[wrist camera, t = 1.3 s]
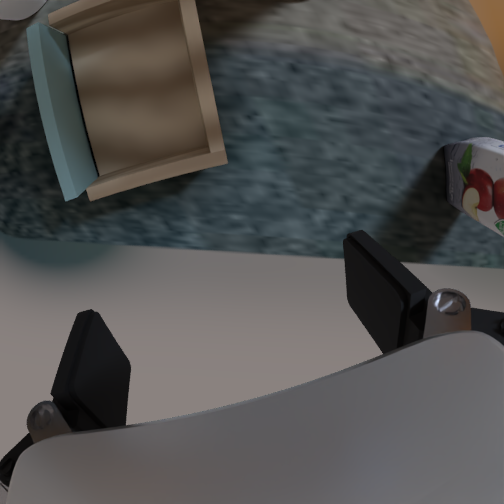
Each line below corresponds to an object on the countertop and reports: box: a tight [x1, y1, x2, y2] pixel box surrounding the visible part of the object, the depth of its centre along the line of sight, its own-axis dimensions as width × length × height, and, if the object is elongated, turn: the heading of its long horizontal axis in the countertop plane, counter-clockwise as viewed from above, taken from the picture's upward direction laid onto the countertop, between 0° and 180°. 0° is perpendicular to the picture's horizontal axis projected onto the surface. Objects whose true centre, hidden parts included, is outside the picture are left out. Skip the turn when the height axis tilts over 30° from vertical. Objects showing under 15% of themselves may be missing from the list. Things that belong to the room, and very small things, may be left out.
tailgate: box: [26, 22, 98, 201], centre depth 22 cm, size 16×1×7 cm, turn 10°
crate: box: [48, 0, 228, 201], centre depth 24 cm, size 18×12×6 cm
